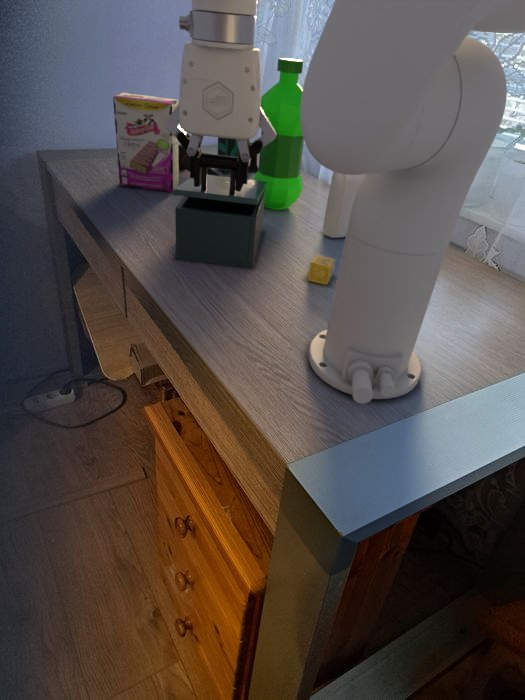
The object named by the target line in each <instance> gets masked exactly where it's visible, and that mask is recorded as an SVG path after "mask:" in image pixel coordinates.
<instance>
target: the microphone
mask: <svg viewBox="0 0 525 700" xmlns="http://www.w3.org/2000/svg"><path fill="white" fill-rule="evenodd" d="M178 148H179V149H178V157H179V172H180V171H187V172H190V156H189V155H188V153H187V151H186V149H185V148H184V147H183V146H182V145H181V144H178ZM207 175H214V176H221V175H220V174H219V173H218V172H217V171H215V169H213V168H208V172H207Z"/></svg>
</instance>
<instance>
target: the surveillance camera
mask: <svg viewBox="0 0 525 700" xmlns="http://www.w3.org/2000/svg"><path fill="white" fill-rule="evenodd" d="M252 143H253V142H250V144H252ZM258 154H259V155H260V151H259V152H257V153H256V154H255V155H254V156H253V157H252V158H251V159H250V160H249V168H248V174H251V173H257V172H258V169H259V166H258ZM217 155H224V156H232V157H238V158H239V155H240V152H239V148H238V143H237V139H230V138H220V137H217ZM217 170H218V171H219V172H220V173H222V174H223V175H228V174H231V170H222V169H217Z"/></svg>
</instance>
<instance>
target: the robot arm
mask: <svg viewBox="0 0 525 700" xmlns="http://www.w3.org/2000/svg"><path fill="white" fill-rule="evenodd" d="M257 7H258V0H191V10H189V13H188V14H186V15H180V16H179V19H178V25H179V29H180V30H183V31H186V32H188V34H189V37H190V38H191V41H187V42H184V43H183V44H184V45H183V51H182V56H181V66H180V78H179V79H180V80H179V97H178V99H179V100H178V106H177V107H176V108H175V110H174V111H173V112H172V114H171V115H170V116H169V117H168V119H167V120H166V121H165V123H164V126H165V128H166V129H167V130H168V131H169V132H170V133H171V134H172V135H173V136H175V137H176V138H177V140H178V143H179V145H182V146H183V147H184V148H185V149H186V151H187V153H188V155H189V156H190V171H189V179H190V178H192V179H194V187H198V186H200V185H201V178H202V167H201V165H200V158H201V154H202V153H203V151H202V148H201V146H202V143H203V139H204V137H212V138H218V137H220V138H230V139H237V143H238V148H239V152H240V155H239V159H238V161H237V166H236V187H235V190H237V191H238V192H241V189H242V187H243V184H247V182H248V180H249V172H248V168H249V165H250V160H251V158H252V157H253V156H254V155H255V154H256V153H257V152H259V151H260V150H261V149H262V148H263V147H264V146H266V145H267V144H269V143H270V142H272V141H273V140H274V139H275V138H276V135H277V133H276V131H275V129H274V128H273V126H272V125H271V123H270V121H269V120H268V118H267V117H266V115H265V113H264V112H263V110H262V109H261V97H262V83H263V82H262V60H261V52H260V49H259V48H257V47H255V43H256V41H255V40H256V26H257V10H258V9H257ZM471 31H475V32H483V33H491V34H492V33H494V34H524V33H525V0H334V2H333V5H332V7H331V9H330V12H329V14H328V17H327V19H326V22H325V24H324V27H323V29H322V31H321V34H320V36H319V39H318V41H317V43H316V46H315V49H314V51H313V53H312V56H311V60H310V62H309V65H308V68H307V71H306V74H305V78H304V82H303V86H302V89H303V90H302V96H301V105H300V121H301V129H302V134H303V137H304V144H305V146H306V148H307V149H308V152H309V153H310V154H311V156H312V157H313V158H314V159H315V161H317V163H318V164H319V165H320V166H322V167H324V168H325V169H327V170H329V171H332V172H333V173H334V172H337V173H341V174H347V175H363V174H365V175H364V177H363V179H362V181H361V183H360V185H359V188H358V190H357V193H356V195H355V199H354V202H353V205H352V209H351V213H350V218H349V223H348V228H347V233H346V236H345V238H344V243H343V248H342V253H341V258H340V264H339V268H338V274H337V279H336V284H335V287H334V288H335V289H334V293H333V298H332V299H333V300H332V304H331V308H330V314H329V319H328V324H327V328H326V329H325V330H322V331H320V332H319V333H317V334H316V335H315V336H314V337H313V339H311V342H310V344H309V348H308V362H309V364H310V366H311V367H310V368H311V369H312V370H313V371H314V373H315V374H316V375H317V376H318V377H319V378H320V379H321V380H322V381H323V382H325V383H326V384H327V385H329V386H331V387H332V388H334V389H336V390H338V391H340V392H343V393H346V394H348V395H350V396H352V398H353V401H354V402H356V403H357V404H368V403H370V402H371V401H372V400H389V399H393V398H399V397H402V396H404V395H406V394H408V393H410V392H412V390H414V389H415V388H416V386H417V385H418V383H419V380H420V378H421V375H422V370H423V369H422V363H421V361H420V359H419V357H418V355H417V354H416V352H415V351H414V349H415V346H416V343H417V341H418V337H419V334H420V331H421V329H422V325H423V322H424V320H425V316H426V312H427V310H428V307H429V303H430V300H431V298H432V294H433V291H434V289H435V286H436V283H437V280H438V277H439V273H440V271H441V268H442V264H443V262H444V259H445V256H446V252H447V250H448V247H449V246H450V242H451V239H452V236H453V234H454V232H455V227H456V225H457V222H458V219H459V216H460V214H461V211H462V208H463V205H464V203H465V201H466V198H467V196H468V193H469V191H470V189H471V186H472V185H473V183H474V180H475V178H476V176H477V174H478V172H479V170H480V168H481V166H482V165H483V163H484V161H485V159H486V157H487V155H488V153H489V151H490V149H491V147H492V145H493V143H494V141H495V139H496V137H497V134H498V132H499V130H500V127H501V124H502V121H503V118H504V114H505V111H506V106H507V96H508V88H507V87H508V86H507V77H506V74H505V71H504V68H503V65H502V63H501V61H500V59H499V58H498V56H497V55H496V54H495V53H494V51H493V50H492V49H491V48H490V47H489V46H488V45H487V44H484V42H482V41H479V40H477V39H476V38H473V37H471V36H468V35H469V33H470V32H471ZM259 126H260V127H259ZM259 129H262V130H261V132H262V131H263V135H262V136H261V135H260V136H259V137H257V138H256V139H255V140H254V141H252V142H251V141H250V140H251V139H253V138H254V137H256V136H257V134H258V132H259ZM250 143H252V144H250Z"/></svg>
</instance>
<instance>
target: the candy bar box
mask: <svg viewBox="0 0 525 700" xmlns="http://www.w3.org/2000/svg"><path fill="white" fill-rule="evenodd" d="M112 100H113V101H112V102H113V114H114V128H115V139H116V153H117V166H118V178H119V179H118V180H119V186H120V187H121V186H122V187H130V188H135V189H143V190H144V189H145V190H151V191H152V190H153V191H159V192H167V193H174V189H175V188H176V187H178V186H179V185H180V173H179V172H180V171H179V157H178V149H179V148H178V145H179V141H178V140H177V138H176V137H175V136H173V135H172V134H171V133H170V132H169V131H168V130H167V129H166V128H165V126H164V123H165V121H166V120H167V119H168V117H169V116H170V115H171V114H172V112H173V111H174V110H175V108H176V107H177V106H178V105H179V100H178V99H176V98H175V99H174V98H169V97H168V98H167V97H160V96H154V95H153V96H152V95H146V94H145V95H144V94H137V93H129V92H120V93H117V94H115V95H113V96H112Z"/></svg>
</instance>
